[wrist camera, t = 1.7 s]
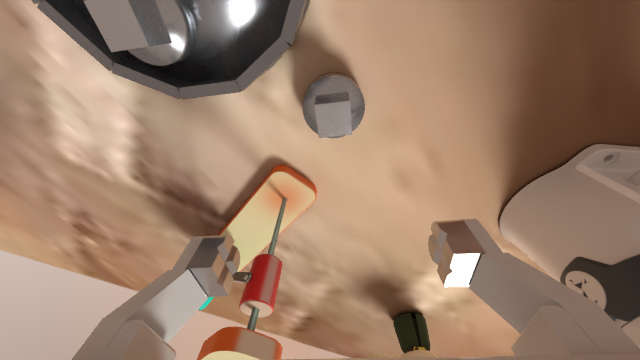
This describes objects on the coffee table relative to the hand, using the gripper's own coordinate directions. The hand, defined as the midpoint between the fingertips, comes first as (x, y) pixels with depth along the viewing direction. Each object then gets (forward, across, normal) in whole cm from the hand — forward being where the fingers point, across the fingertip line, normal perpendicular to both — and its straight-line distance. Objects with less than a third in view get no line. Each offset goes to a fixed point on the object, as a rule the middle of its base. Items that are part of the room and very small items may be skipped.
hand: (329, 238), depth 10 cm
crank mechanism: (+19, +13, +17) cm, 28 cm away
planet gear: (+18, -1, 0) cm, 18 cm away
